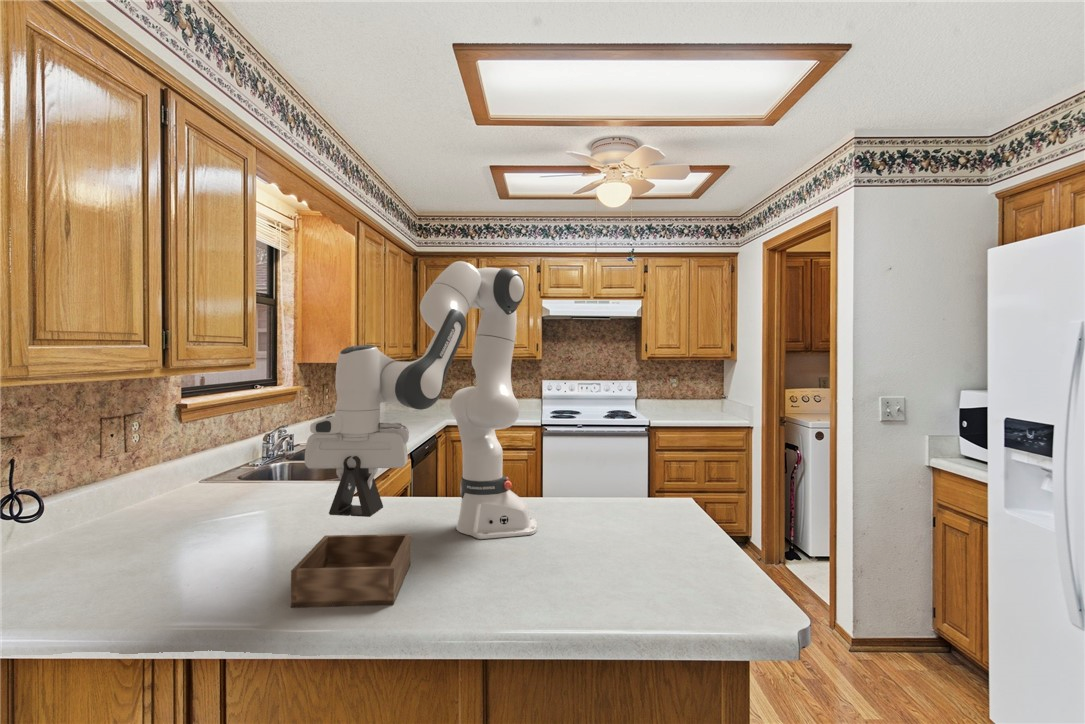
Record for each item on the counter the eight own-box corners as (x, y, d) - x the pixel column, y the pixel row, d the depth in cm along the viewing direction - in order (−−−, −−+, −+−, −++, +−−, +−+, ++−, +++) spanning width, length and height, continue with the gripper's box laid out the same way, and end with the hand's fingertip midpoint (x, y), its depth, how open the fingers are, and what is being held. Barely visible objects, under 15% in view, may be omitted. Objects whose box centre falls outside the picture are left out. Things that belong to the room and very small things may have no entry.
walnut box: (410, 564, 118) (410, 534, 118) (393, 604, 99) (393, 568, 99) (324, 566, 116) (324, 535, 116) (290, 607, 97) (291, 570, 97)
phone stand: (383, 508, 110) (384, 452, 110) (370, 517, 104) (371, 457, 104) (343, 506, 111) (343, 450, 111) (328, 514, 105) (329, 456, 105)
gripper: (411, 421, 111) (410, 485, 111) (313, 420, 110) (312, 485, 110) (406, 425, 105) (405, 492, 105) (301, 424, 103) (301, 493, 103)
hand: (357, 489), depth 107 cm, fingers closed on phone stand, 3 cm apart
